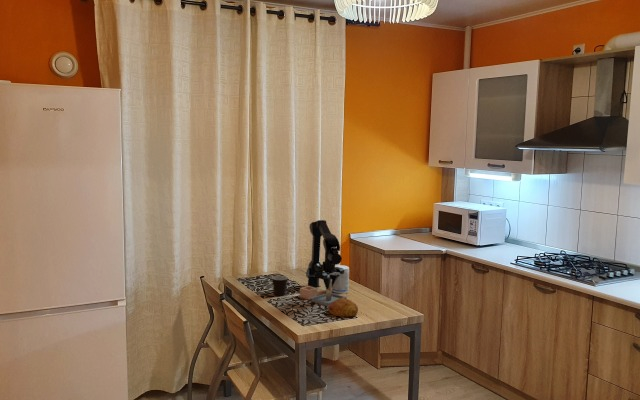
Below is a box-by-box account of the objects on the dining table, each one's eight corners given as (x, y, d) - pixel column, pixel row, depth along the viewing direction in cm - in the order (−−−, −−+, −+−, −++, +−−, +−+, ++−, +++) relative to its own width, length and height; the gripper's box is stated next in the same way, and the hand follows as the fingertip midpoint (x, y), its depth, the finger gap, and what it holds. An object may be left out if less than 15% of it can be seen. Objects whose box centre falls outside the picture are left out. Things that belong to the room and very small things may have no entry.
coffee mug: (284, 298, 279) (285, 280, 277) (269, 296, 280) (270, 279, 279) (290, 292, 290) (290, 275, 289) (275, 291, 292) (276, 274, 290)
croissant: (347, 310, 268) (346, 295, 268) (362, 316, 254) (362, 300, 254) (322, 313, 261) (322, 297, 262) (337, 318, 247) (337, 302, 248)
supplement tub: (331, 289, 299) (332, 264, 298) (347, 289, 299) (348, 265, 297) (332, 294, 289) (332, 268, 288) (348, 294, 289) (349, 269, 288)
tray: (329, 296, 285) (329, 292, 285) (346, 300, 278) (346, 296, 277) (310, 302, 273) (310, 298, 273) (327, 307, 265) (327, 303, 265)
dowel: (328, 297, 277) (329, 278, 276) (332, 299, 275) (333, 279, 274) (324, 299, 275) (325, 279, 274) (329, 300, 273) (329, 280, 272)
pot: (307, 295, 286) (308, 285, 285) (317, 297, 281) (317, 288, 281) (299, 297, 280) (300, 288, 280) (308, 300, 276) (309, 290, 275)
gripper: (329, 255, 285) (328, 282, 287) (307, 260, 271) (306, 288, 273) (345, 258, 278) (344, 286, 280) (323, 263, 264) (322, 293, 265)
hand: (329, 288), depth 275 cm, fingers closed on dowel, 3 cm apart
